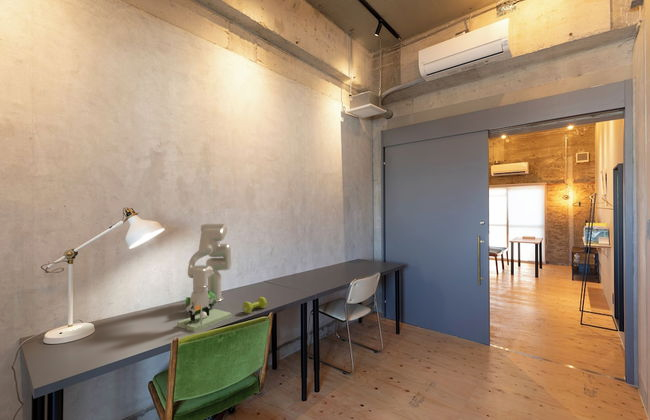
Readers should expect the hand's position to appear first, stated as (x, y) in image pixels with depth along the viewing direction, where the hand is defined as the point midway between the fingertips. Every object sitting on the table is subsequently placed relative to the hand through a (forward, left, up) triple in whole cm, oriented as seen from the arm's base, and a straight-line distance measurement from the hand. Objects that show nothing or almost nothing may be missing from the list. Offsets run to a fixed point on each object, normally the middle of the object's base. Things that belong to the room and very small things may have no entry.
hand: (200, 317), depth 174 cm
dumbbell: (+11, +34, -4) cm, 36 cm away
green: (0, +4, -3) cm, 5 cm away
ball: (0, +2, +1) cm, 2 cm away
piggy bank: (-18, +14, -4) cm, 23 cm away
